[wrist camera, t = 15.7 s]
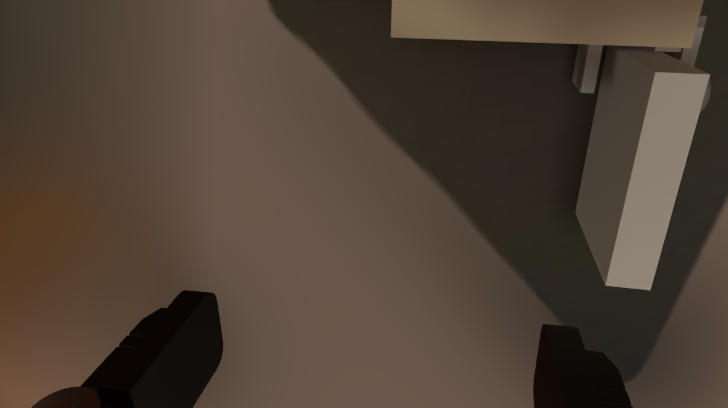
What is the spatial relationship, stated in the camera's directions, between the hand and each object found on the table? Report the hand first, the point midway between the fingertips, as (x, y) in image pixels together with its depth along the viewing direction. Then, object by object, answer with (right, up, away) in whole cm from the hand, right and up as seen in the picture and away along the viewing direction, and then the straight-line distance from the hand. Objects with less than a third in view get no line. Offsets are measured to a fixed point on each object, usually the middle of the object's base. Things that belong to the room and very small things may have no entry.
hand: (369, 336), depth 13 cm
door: (+17, +8, +24) cm, 30 cm away
